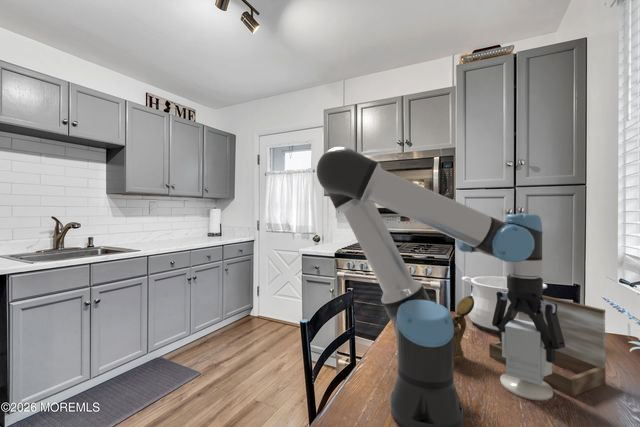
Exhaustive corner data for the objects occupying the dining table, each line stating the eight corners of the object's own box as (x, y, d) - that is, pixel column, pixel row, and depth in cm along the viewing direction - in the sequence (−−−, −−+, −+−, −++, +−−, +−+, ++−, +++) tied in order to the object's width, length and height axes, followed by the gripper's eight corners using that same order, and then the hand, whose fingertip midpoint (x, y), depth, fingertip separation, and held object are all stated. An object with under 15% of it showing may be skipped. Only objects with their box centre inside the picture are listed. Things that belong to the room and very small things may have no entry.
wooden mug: (483, 359, 91) (483, 299, 91) (443, 365, 88) (442, 303, 88) (463, 346, 100) (463, 292, 100) (426, 351, 97) (425, 294, 97)
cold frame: (572, 396, 72) (571, 317, 72) (489, 356, 93) (488, 295, 93) (606, 383, 78) (605, 309, 78) (520, 348, 98) (520, 290, 98)
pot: (458, 329, 115) (457, 283, 115) (465, 310, 136) (465, 271, 136) (551, 345, 100) (551, 292, 100) (544, 322, 121) (543, 278, 121)
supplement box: (546, 374, 77) (545, 324, 77) (541, 386, 71) (540, 332, 71) (512, 364, 82) (511, 317, 82) (505, 375, 76) (504, 325, 76)
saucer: (533, 405, 69) (533, 401, 69) (490, 380, 80) (490, 377, 80) (563, 393, 74) (563, 390, 74) (519, 372, 84) (518, 369, 84)
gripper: (584, 282, 68) (586, 383, 68) (495, 267, 88) (496, 344, 88) (563, 286, 65) (565, 391, 65) (476, 269, 85) (477, 349, 85)
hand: (525, 364), depth 77 cm, fingers closed on supplement box, 9 cm apart
